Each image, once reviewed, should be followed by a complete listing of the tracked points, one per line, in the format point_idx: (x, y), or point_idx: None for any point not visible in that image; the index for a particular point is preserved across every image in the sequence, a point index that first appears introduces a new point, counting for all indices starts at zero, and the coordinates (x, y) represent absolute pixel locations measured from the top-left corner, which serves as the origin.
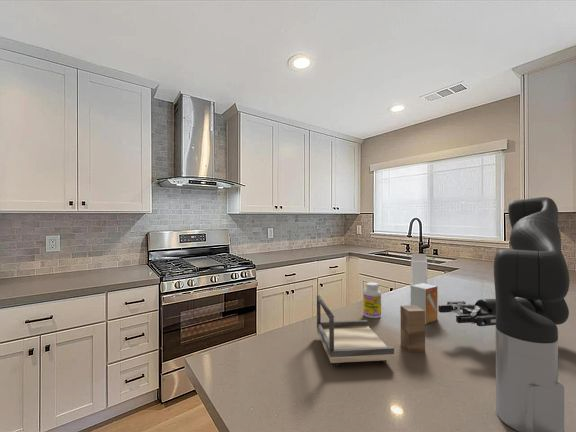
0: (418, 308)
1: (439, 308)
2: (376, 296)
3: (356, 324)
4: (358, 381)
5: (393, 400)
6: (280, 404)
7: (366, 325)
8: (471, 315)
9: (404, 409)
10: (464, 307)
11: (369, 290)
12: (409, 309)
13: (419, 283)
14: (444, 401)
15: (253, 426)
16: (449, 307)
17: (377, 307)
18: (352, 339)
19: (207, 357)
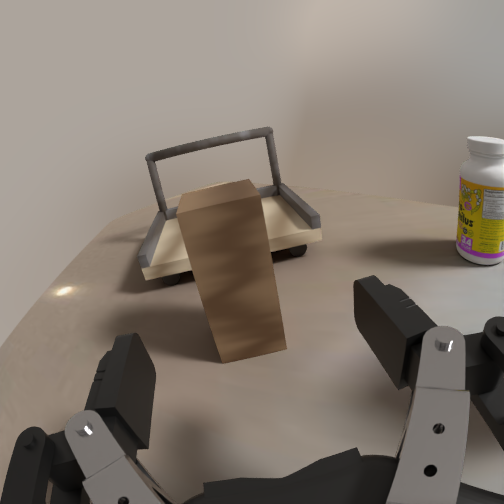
0: (208, 202)
1: (356, 295)
2: (470, 182)
3: (301, 214)
4: (130, 262)
5: (77, 289)
6: (121, 229)
7: (311, 227)
8: (80, 414)
9: (59, 296)
10: (370, 467)
11: (469, 158)
12: (200, 192)
13: None
14: (42, 337)
15: (105, 227)
16: (399, 348)
17: (472, 224)
18: None
19: (219, 184)
